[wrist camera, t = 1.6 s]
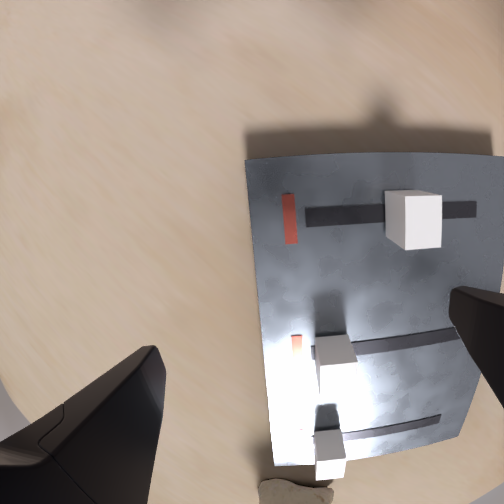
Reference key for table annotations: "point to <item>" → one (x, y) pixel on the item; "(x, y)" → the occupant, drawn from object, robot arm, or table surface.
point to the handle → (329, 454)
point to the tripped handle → (413, 218)
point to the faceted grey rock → (292, 493)
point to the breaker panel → (369, 293)
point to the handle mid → (335, 367)
